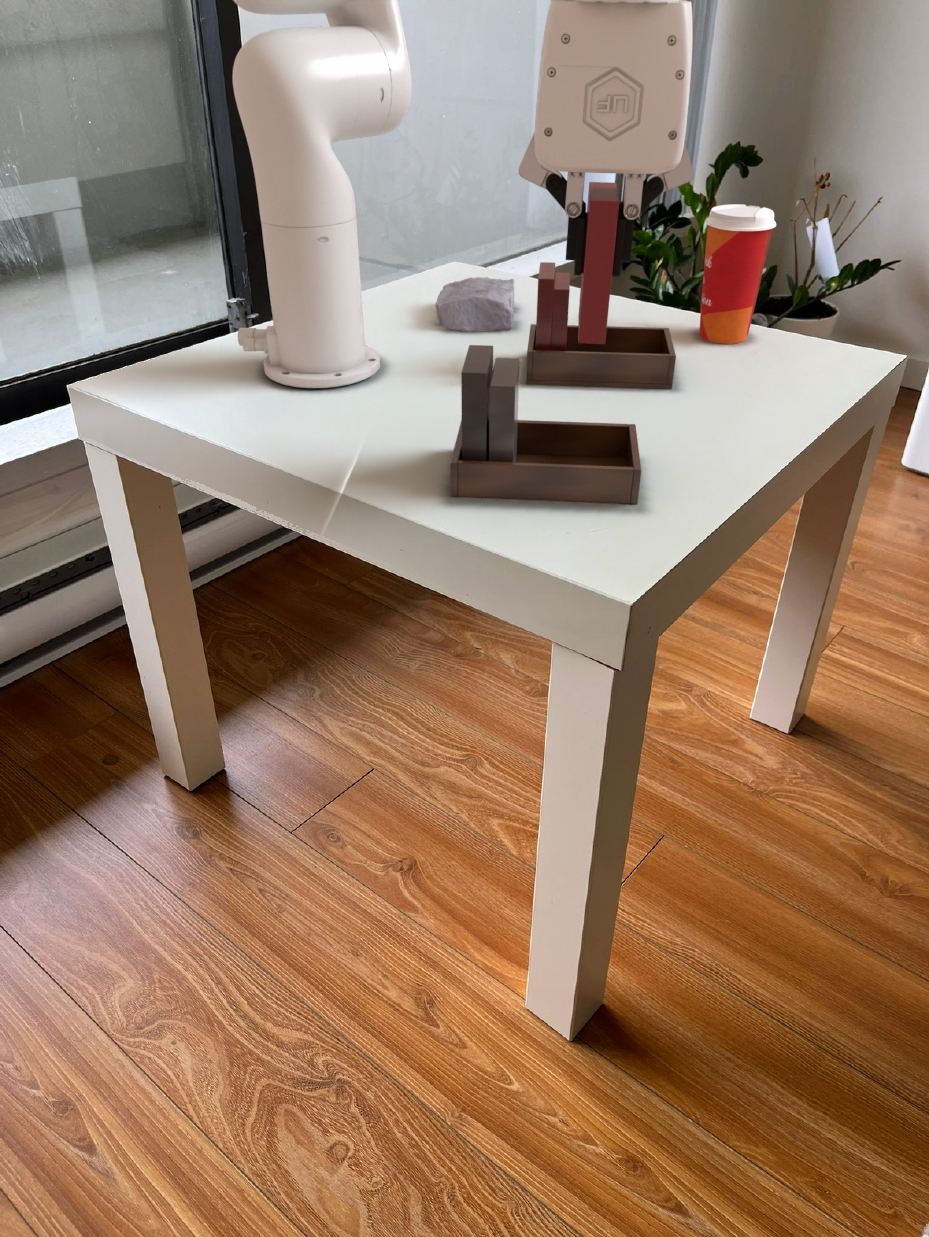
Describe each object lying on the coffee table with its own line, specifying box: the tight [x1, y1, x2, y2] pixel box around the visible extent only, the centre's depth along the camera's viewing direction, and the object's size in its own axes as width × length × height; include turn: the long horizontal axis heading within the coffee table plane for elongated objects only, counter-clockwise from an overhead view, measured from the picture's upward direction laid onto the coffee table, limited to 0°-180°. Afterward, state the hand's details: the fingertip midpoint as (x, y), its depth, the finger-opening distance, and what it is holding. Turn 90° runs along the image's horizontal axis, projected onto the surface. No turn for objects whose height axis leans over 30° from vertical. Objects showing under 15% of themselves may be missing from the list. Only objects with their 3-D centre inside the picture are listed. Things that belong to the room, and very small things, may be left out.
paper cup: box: [699, 203, 777, 345], centre depth 107 cm, size 8×8×14 cm
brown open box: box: [525, 261, 677, 390], centre depth 99 cm, size 15×9×10 cm, turn 84°
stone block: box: [434, 276, 515, 333], centre depth 117 cm, size 12×5×10 cm
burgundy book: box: [577, 181, 620, 344], centre depth 70 cm, size 2×6×10 cm, turn 174°
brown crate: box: [449, 344, 642, 506], centre depth 77 cm, size 15×9×10 cm, turn 84°
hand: (596, 269), depth 70 cm, fingers closed on burgundy book, 2 cm apart
